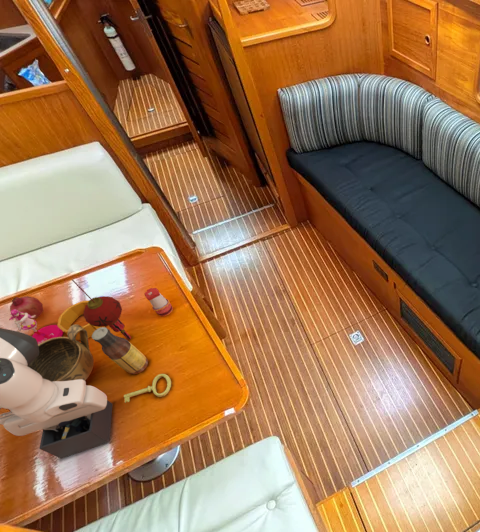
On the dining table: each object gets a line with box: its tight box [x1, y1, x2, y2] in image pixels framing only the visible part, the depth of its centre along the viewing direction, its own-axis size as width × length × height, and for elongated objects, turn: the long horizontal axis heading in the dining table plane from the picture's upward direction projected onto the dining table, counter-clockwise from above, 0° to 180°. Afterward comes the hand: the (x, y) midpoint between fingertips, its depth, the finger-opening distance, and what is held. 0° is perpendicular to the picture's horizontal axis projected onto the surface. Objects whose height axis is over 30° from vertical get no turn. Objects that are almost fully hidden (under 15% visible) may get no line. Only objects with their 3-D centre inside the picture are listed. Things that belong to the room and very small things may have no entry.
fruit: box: [9, 295, 44, 320], centre depth 130 cm, size 8×8×10 cm
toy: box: [144, 287, 174, 317], centre depth 130 cm, size 5×8×15 cm
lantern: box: [71, 279, 132, 341], centre depth 117 cm, size 10×10×30 cm
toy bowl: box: [56, 300, 106, 341], centre depth 130 cm, size 12×13×5 cm
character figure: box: [58, 418, 90, 439], centre depth 104 cm, size 9×4×12 cm, turn 163°
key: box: [123, 373, 172, 404], centre depth 115 cm, size 7×12×2 cm, turn 133°
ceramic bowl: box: [28, 323, 95, 382], centre depth 114 cm, size 22×17×15 cm
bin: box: [38, 399, 114, 460], centre depth 106 cm, size 12×12×8 cm
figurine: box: [8, 309, 64, 344], centre depth 123 cm, size 10×10×15 cm
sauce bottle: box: [91, 326, 149, 375], centre depth 114 cm, size 7×6×20 cm
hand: (76, 423), depth 105 cm, fingers open, 6 cm apart
